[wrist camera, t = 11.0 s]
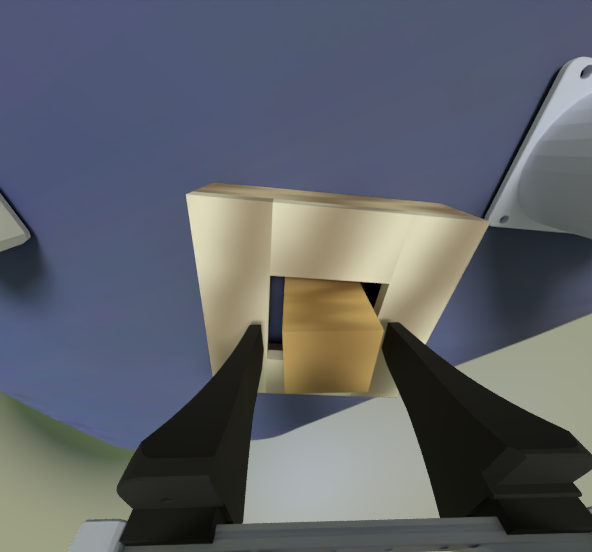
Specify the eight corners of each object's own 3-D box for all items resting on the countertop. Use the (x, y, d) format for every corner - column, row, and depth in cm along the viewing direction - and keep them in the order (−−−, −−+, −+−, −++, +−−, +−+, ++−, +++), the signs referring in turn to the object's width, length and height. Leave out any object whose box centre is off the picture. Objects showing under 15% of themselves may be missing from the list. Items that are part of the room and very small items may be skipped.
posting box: (440, 203, 14) (490, 221, 10) (379, 356, 21) (396, 397, 17) (213, 182, 13) (185, 194, 10) (228, 349, 20) (214, 391, 16)
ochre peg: (348, 260, 16) (384, 330, 10) (342, 310, 18) (367, 392, 12) (285, 261, 16) (282, 331, 10) (287, 311, 18) (284, 393, 12)
